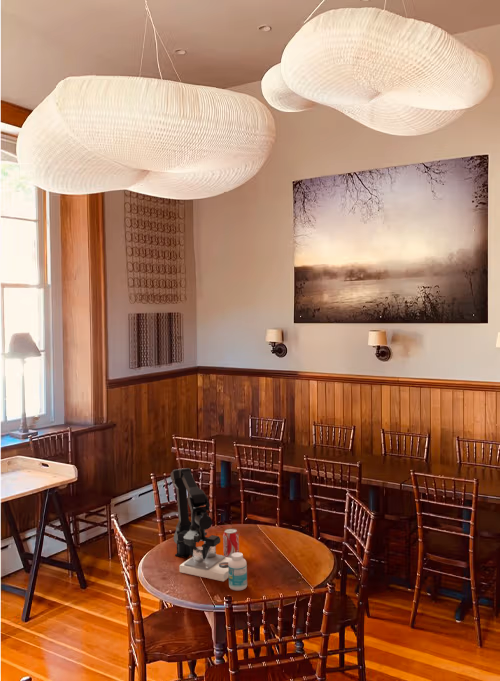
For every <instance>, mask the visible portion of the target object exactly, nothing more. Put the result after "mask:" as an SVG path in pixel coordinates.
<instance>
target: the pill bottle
mask: <svg viewBox="0 0 500 681" xmlns="http://www.w3.org/2000/svg"><path fill="white" fill-rule="evenodd" d="M231 558H232V559H230V560H229V562H228V571H229V578H228V587H229V588H230V590H232V591H243V590H245V589H246V588H247V586H248V568H247V567H248V565H247V563H248V562H247V560H246V559H245V558H244V555H243V553H242V552H240V551H239V552H236V553H233V554H232V555H231Z"/></svg>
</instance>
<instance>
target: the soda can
mask: <svg viewBox="0 0 500 681" xmlns="http://www.w3.org/2000/svg"><path fill="white" fill-rule="evenodd" d="M222 539H223V541H222V542H223V543H222V544H223V546H222V547H223V548H222V549H223V556H225V557H228V558H231V555H232V554H233V553H236V552H240V542H239V533H238V530H237V528H226V529H224V532H223V534H222Z"/></svg>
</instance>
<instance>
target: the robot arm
mask: <svg viewBox="0 0 500 681" xmlns="http://www.w3.org/2000/svg"><path fill="white" fill-rule="evenodd" d="M170 480H171V481H172V482H171V483H172V484H173V486H174V487H175V490H176V499H177V501H176V503H177V511H178V514H177V515H178V522H177V524H176V526H175V532H174V535H173V542H174V543H175V545H176V553H175V554H174V556H175V557H180V558H184V559H186V558H189V556H191V557H193V548H195V547H197V543H200V542H203V544H202V545H201V546H200V547H202V548H203V559H205V558H206V556H207V553H208V550H209V548H210V546H211V547H214V546H216V547H217V545H219V544H221V537H220V536H219V535H213V534H211V535H210V536H208V533H207V532H206V530H209V529H210V528H211V527H212V525H213V520H212V517H211V516H209V515H208V511H210V510H211V509H210V506H211V505H210V502H209V497H207V496H208V495H206V493H205V491H204V490H203V489H201V488H200V487H199V486H198V485H197V483H196V481H195V478H194V476H193V474H192V469H191V468H189V467H186V468H185V467H184V468H176V469H173V470H172V471H171V472H170ZM187 493H188V494H187ZM188 506H189V507H188ZM189 510H190V513H191V514H190V517H191V519H190V517H189Z"/></svg>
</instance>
